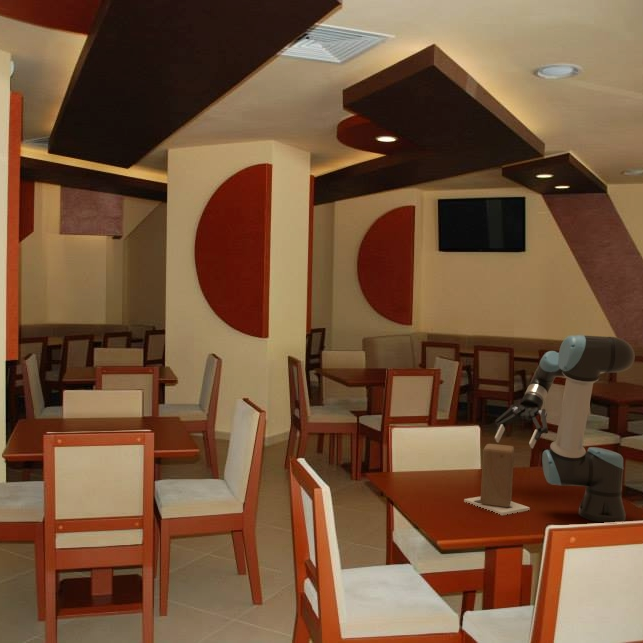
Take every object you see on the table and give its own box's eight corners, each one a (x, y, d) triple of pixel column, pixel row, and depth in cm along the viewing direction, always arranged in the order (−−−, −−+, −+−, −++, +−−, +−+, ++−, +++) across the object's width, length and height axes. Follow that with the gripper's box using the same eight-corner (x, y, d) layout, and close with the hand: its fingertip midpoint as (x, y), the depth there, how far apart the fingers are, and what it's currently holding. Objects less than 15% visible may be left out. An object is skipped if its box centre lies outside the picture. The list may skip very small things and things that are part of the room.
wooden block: (509, 508, 269) (512, 451, 268) (479, 504, 272) (483, 447, 271) (511, 501, 278) (514, 445, 277) (483, 497, 281) (486, 442, 280)
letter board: (529, 510, 272) (529, 506, 272) (501, 515, 264) (502, 512, 264) (491, 497, 286) (491, 494, 286) (463, 501, 279) (464, 498, 278)
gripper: (568, 409, 288) (548, 455, 277) (506, 401, 304) (485, 444, 293) (563, 396, 284) (543, 441, 273) (500, 388, 300) (479, 431, 289)
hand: (513, 443), depth 283 cm, fingers open, 13 cm apart
